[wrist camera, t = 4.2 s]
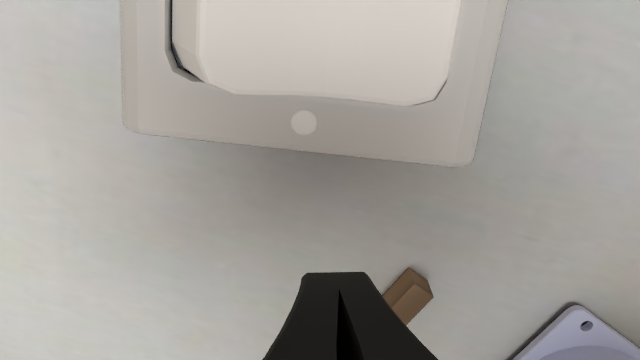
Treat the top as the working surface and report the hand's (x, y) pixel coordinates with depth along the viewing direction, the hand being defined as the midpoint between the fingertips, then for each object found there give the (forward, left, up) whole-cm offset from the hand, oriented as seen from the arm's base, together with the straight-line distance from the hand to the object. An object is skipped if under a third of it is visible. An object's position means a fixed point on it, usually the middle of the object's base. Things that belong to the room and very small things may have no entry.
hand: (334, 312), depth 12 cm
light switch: (+4, -4, -11) cm, 12 cm away
